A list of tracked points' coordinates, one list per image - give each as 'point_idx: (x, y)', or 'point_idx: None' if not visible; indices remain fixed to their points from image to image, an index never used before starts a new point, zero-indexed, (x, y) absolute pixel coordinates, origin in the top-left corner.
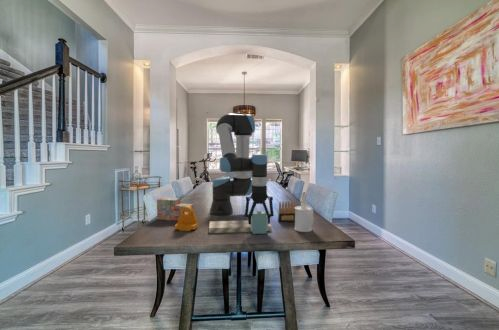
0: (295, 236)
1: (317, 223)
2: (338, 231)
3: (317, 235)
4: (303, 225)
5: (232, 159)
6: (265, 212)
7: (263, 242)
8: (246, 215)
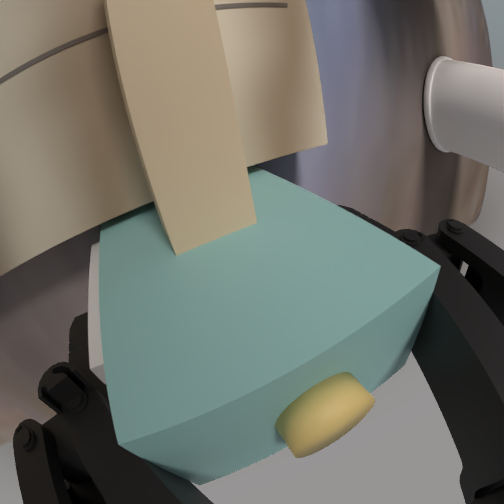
0: (401, 221)
1: (475, 30)
2: None
3: (456, 187)
4: (471, 158)
5: None
6: (418, 323)
7: None
8: (90, 478)
